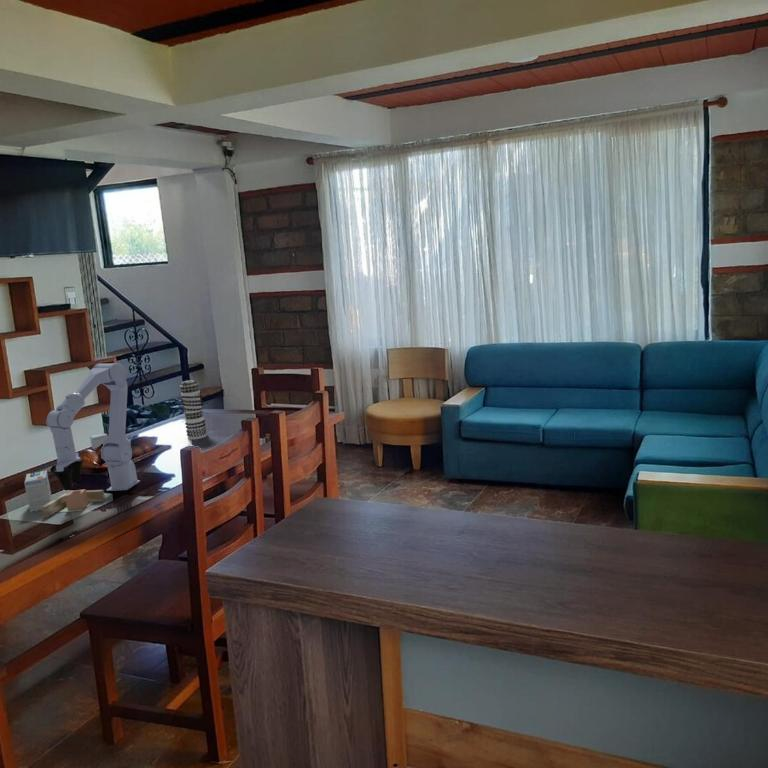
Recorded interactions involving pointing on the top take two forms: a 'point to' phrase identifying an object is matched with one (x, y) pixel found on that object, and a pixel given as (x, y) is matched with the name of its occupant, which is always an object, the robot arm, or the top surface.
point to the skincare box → (97, 440)
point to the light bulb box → (37, 490)
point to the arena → (61, 503)
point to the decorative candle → (193, 409)
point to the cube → (76, 499)
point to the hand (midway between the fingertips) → (72, 486)
